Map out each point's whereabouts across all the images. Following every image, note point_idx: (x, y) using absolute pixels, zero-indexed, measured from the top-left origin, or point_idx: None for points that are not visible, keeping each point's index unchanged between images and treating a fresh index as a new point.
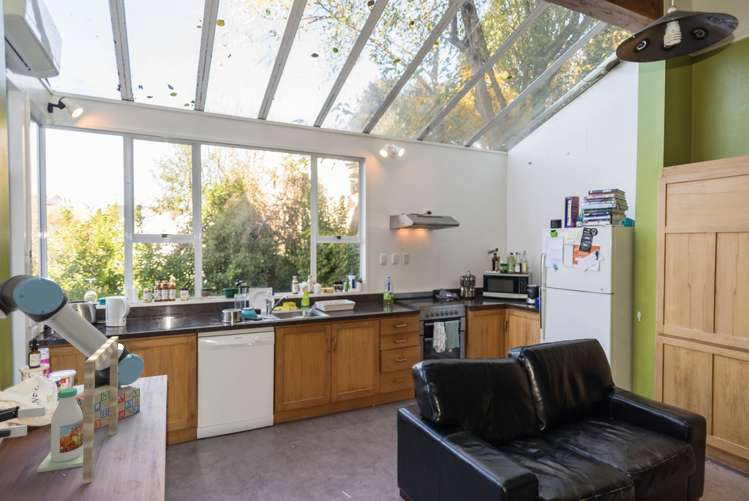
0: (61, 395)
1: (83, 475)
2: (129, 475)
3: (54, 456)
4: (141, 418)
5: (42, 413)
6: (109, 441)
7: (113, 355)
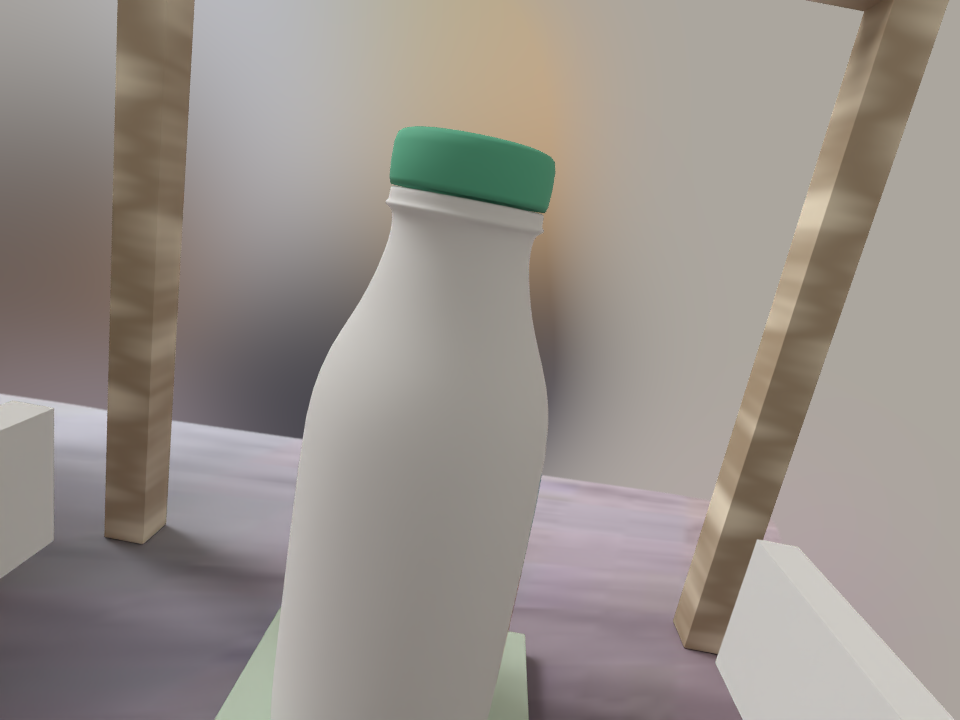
0: (548, 183)
1: None
2: (654, 537)
3: None
4: None
5: (37, 510)
6: (248, 551)
7: None
